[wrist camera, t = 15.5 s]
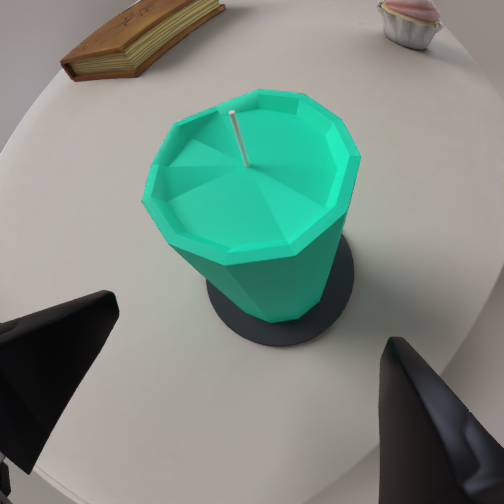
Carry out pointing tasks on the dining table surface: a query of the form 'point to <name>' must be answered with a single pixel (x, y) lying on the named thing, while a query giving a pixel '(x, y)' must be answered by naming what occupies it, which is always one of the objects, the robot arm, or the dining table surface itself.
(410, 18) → the cupcake
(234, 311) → the coaster
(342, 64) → the dining table surface
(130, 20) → the diary
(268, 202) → the candle
